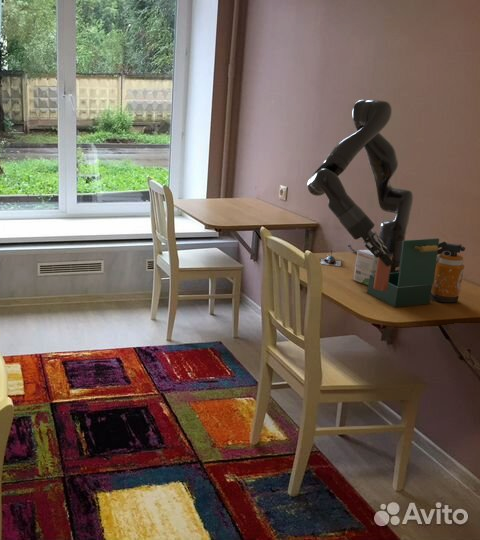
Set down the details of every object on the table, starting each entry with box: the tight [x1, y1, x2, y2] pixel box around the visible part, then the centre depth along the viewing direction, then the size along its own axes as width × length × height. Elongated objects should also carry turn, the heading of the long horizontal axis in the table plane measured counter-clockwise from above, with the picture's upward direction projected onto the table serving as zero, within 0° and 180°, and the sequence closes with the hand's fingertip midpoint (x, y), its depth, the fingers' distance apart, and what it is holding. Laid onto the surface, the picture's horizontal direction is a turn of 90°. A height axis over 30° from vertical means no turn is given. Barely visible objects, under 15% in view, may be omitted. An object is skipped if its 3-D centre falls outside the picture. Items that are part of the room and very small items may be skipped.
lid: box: [398, 237, 440, 287], centre depth 197 cm, size 15×14×5 cm
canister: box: [430, 241, 466, 303], centre depth 206 cm, size 9×11×20 cm
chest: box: [366, 272, 432, 308], centre depth 209 cm, size 15×14×7 cm
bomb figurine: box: [320, 249, 342, 267], centre depth 249 cm, size 8×8×6 cm
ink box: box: [353, 249, 378, 286], centre depth 223 cm, size 8×5×12 cm, turn 25°
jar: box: [373, 251, 393, 291], centre depth 194 cm, size 4×4×12 cm
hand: (390, 262), depth 192 cm, fingers closed on jar, 4 cm apart
